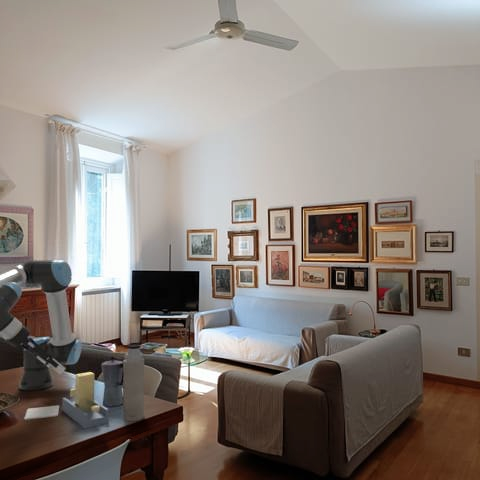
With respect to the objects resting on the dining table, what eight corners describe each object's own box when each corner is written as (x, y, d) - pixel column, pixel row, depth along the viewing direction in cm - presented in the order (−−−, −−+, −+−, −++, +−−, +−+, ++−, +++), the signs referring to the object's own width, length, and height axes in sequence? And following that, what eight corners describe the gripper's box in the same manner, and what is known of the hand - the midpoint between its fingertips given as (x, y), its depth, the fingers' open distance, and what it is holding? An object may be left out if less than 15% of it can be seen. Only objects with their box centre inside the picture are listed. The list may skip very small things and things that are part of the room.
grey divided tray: (62, 410, 177) (62, 390, 178) (84, 405, 183) (84, 386, 183) (84, 428, 158) (85, 406, 158) (108, 422, 164) (108, 401, 164)
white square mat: (27, 410, 178) (27, 408, 178) (59, 406, 182) (59, 405, 182) (24, 420, 167) (24, 418, 167) (57, 416, 171) (57, 414, 171)
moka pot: (111, 397, 193) (112, 352, 194) (134, 404, 184) (135, 357, 185) (93, 403, 186) (94, 356, 186) (116, 410, 177) (117, 361, 178)
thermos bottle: (120, 421, 165) (120, 347, 167) (126, 413, 173) (126, 343, 175) (140, 421, 165) (141, 347, 166) (146, 413, 173) (146, 343, 174)
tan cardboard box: (75, 410, 170) (75, 374, 171) (90, 406, 174) (90, 371, 175) (78, 413, 167) (79, 376, 168) (94, 409, 171) (94, 373, 172)
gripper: (-2, 336, 163) (39, 370, 172) (14, 345, 144) (60, 383, 153) (14, 320, 167) (54, 354, 176) (32, 328, 148) (75, 365, 157)
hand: (57, 368), depth 164 cm, fingers open, 13 cm apart
